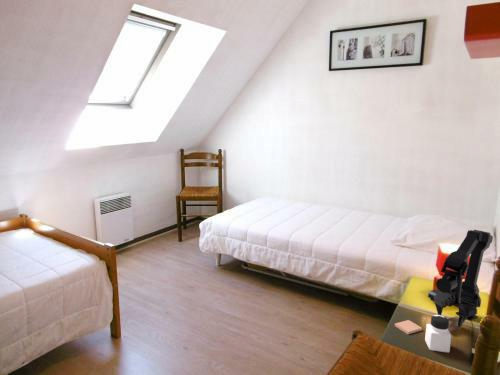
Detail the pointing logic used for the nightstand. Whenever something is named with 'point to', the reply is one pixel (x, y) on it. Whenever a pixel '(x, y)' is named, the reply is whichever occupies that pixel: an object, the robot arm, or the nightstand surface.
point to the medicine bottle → (438, 334)
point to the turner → (453, 323)
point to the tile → (408, 327)
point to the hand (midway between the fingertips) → (449, 321)
